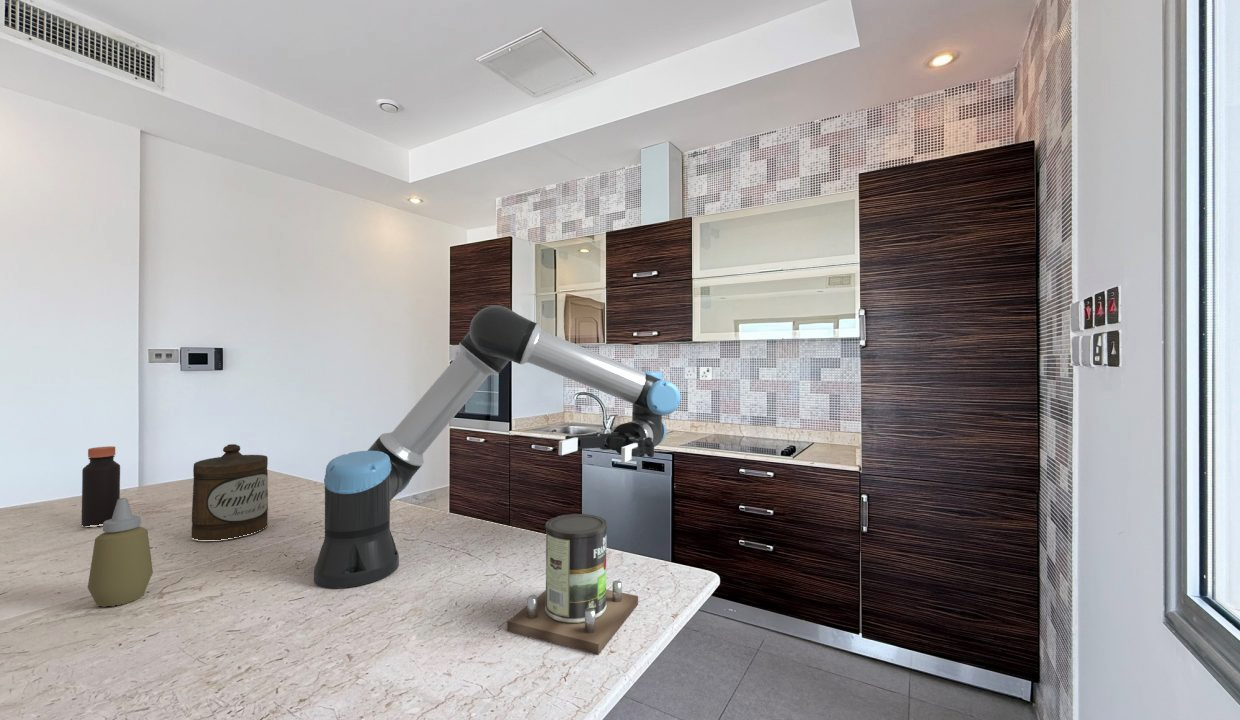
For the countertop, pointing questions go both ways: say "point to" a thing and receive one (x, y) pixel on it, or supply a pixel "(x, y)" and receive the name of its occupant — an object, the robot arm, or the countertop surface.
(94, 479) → the vinegar
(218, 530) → the wooden container
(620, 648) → the countertop surface
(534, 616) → the pin nest
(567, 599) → the coffee can
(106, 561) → the squeeze bottle
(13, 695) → the countertop surface
